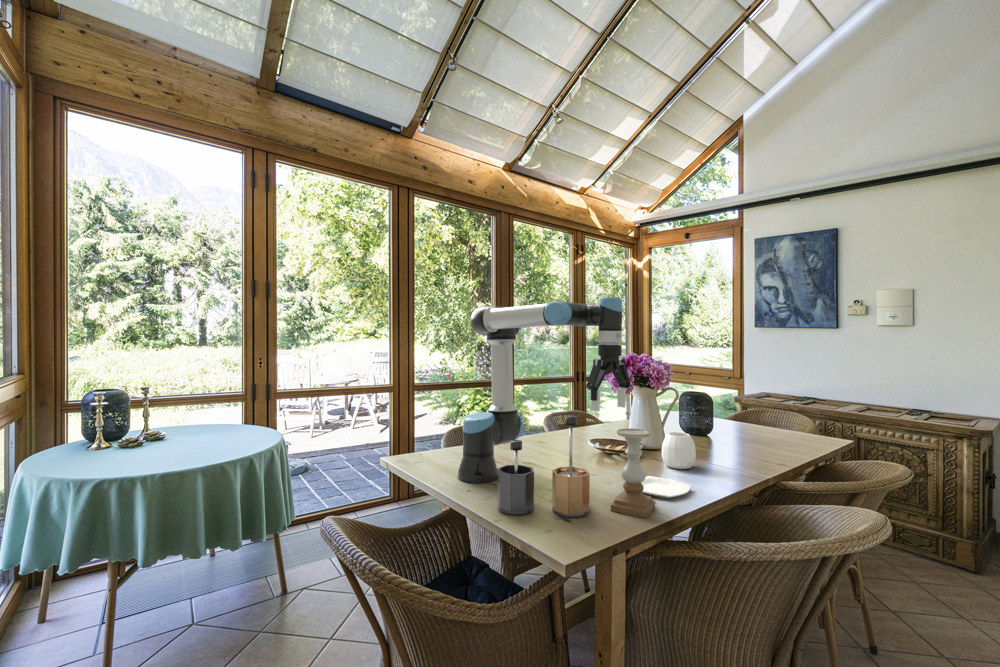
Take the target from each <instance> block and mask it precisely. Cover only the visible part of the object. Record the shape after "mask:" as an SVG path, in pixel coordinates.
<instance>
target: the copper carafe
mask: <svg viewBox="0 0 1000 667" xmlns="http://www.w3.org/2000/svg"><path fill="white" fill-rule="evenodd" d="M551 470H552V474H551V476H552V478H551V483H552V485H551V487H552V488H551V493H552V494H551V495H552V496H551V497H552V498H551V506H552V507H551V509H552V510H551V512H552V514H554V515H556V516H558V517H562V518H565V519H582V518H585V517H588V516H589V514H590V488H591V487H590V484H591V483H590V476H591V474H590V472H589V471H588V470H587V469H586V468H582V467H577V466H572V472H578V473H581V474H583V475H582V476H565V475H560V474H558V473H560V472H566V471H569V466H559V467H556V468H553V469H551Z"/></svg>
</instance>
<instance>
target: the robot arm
mask: <svg viewBox="0 0 1000 667" xmlns="http://www.w3.org/2000/svg"><path fill="white" fill-rule="evenodd" d="M623 312H624V310H623V299H622V298H621V297H618V296H602V297H600V298H599V299H598V303H580V302H579V303H577V302H567V301H563V300H556V301H551V302H547V303H537V304H526V305H517V306H509V307H508V306H494V305H493V306H491V305H481V306H478V307H477V308H474V310H473V311H472V313H471V314H470V318H469V323H470V326H471V329H472V330H473V331H474V332H475V333H477V334H479V335H480V336H486V341H487V343H489V345H490V361H491V362H490V365H491V366H490V368H491V370H490V372H491V406H490V407H489V408H487V410H488V411H487V412H486V411H483V412H481V411H480V412H473V413H470V414H468V415H466V416H465V417H464V419H463V425H462V457H461V461H460V464H459V467H458V471H457V478H458V480H460V481H463V482H467V483H473V484H474V483H475V484H477V483H478V484H480V483H488V482H494V481H495V480H497V479H498V466H497V463H496V458H495V453H494V452H495V446H499V445H502V444H510V441H511V440H519V438H520V437H521V435H522V434H523V431H524V425H525V424H524V420H523V417H522V415H520V413H518V408H517V407H516V406H515V404H514V371H513V370H514V369H513V368H514V367H513V363H514V361H513V344H514V343H515V342H516V341H517V335H518V334H519V333H520V331H521V329H522V328H536V327H548V326H550V327H552V326H553V327H554V326H555V327H557V326H572V327H598V334H597V337H598V339H597V342H598V343H599V344H598V348H597V350H598V351H597V355H598V357H599V358H600V359H599V358H594V359H593V361H592V362H593V363H592V368H591V371H590V373H589V376H588V379H587V382H586V385H585V387H586V389H588V390H589V391H590V402H591V403H590V406H591V409H590V410H591V411H593V412H594V411H595V412H600V410H601V408H600V404H601V403H600V402H601V401H600V399H601V390H599V389H600V387H601V385H602V383H603V381H604V380H605V378H606V376H607V375H608V374H610V373H611V374H612V375H613V377H614V378H615V380H616V382H617V384H618V386H619V387H617V407H618V408H626V406H627V404H626V397H627V389H629V388H630V386H631V379H630V377H629V372H628V369H627V366H626V358H620V357H621V356H622V352H623V351H622V350H623V348H622V347H623V346H622V345H621V344H622V338H623V337H622V336H623V334H622V333H623V332H622V331H623V330H622V328H623Z"/></svg>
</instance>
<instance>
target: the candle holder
mask: <svg viewBox="0 0 1000 667" xmlns="http://www.w3.org/2000/svg"><path fill="white" fill-rule="evenodd" d="M616 434H617V436H621V437H622V438H623V437H624V439H625V441H626V443H627V447H626V449H625V450H624V454H626V457H627V462H626V463H625V465H624V466H623V468H622V470H621V472H620V476H621V478H622V480H624V481H625V482H624V483H623V484H622V487H623V490H624V491H622V492H620V493H618V495H617V496H616V497H615V498H614V500H613V502H612V503H611V504H610V511H611V512H614V513H618V514H622V515H627V516H633V517H637V518H641V517H642V518H643V519H647V518H648V517H650V515H651V514H652V513H653V511H654V510H655V509H656V502H655V500H653V496H651V495H647V494H645V493H642V491H643V489H644V487H643V485H642V484H641V482H643V481H644V480H645V478H646V471H645V470H644V467H642V465H641V462H640V458H641V456H642V455H643V451H642V450H641V447H640V445H641V443H642V442H643V440H644V439H646V438H650V437H651V436H652V433H651V431H649V430H645V429H642V428H641V429H640V428H620V429H617V430H616ZM654 508H655V509H654ZM651 512H652V513H651Z"/></svg>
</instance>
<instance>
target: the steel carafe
mask: <svg viewBox="0 0 1000 667" xmlns="http://www.w3.org/2000/svg"><path fill="white" fill-rule="evenodd" d="M497 469H498V478H497V479H498V482H497V484H498V485H497V487H498V488H497V490H498V491H497V496H498V497H497V511H498V512H499V513H500V514H504V515H505V516H506V515H507V516H511V517H512V516H514V517H521V516H526V515H530V514H532V513H533V512H534V508H535V507H534V506H535V501H534V500H535V499H534V498H535V497H534V496H535V471H534V468H533V467H531V466H527V465H522V464H518V472H517V474H515V464H507V465H503V466H499V467H497Z"/></svg>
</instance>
